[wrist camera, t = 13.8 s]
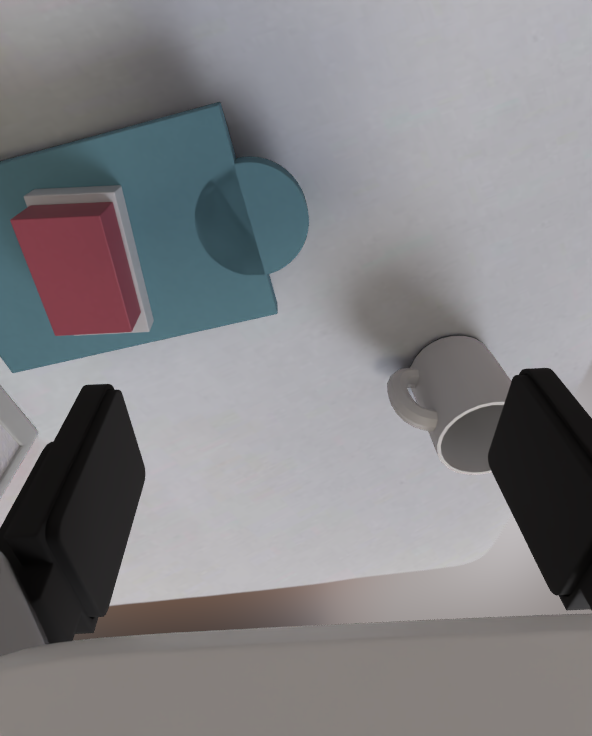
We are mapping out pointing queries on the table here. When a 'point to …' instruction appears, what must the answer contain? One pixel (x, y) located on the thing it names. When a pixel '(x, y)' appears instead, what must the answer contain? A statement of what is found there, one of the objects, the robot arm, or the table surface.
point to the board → (159, 231)
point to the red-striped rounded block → (12, 439)
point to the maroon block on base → (84, 260)
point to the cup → (453, 400)
